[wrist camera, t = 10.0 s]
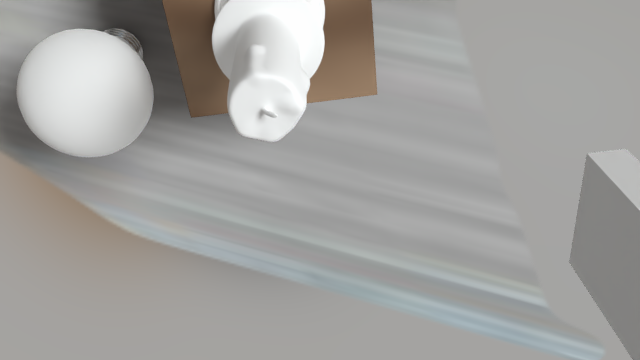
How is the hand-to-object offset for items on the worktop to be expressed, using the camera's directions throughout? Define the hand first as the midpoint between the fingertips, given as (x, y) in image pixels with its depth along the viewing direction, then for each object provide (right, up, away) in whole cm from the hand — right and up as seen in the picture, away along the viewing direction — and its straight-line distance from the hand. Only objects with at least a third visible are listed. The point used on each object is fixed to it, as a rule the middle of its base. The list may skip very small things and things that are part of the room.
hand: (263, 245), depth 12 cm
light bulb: (-11, +10, +25) cm, 30 cm away
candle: (-1, +10, +17) cm, 19 cm away
